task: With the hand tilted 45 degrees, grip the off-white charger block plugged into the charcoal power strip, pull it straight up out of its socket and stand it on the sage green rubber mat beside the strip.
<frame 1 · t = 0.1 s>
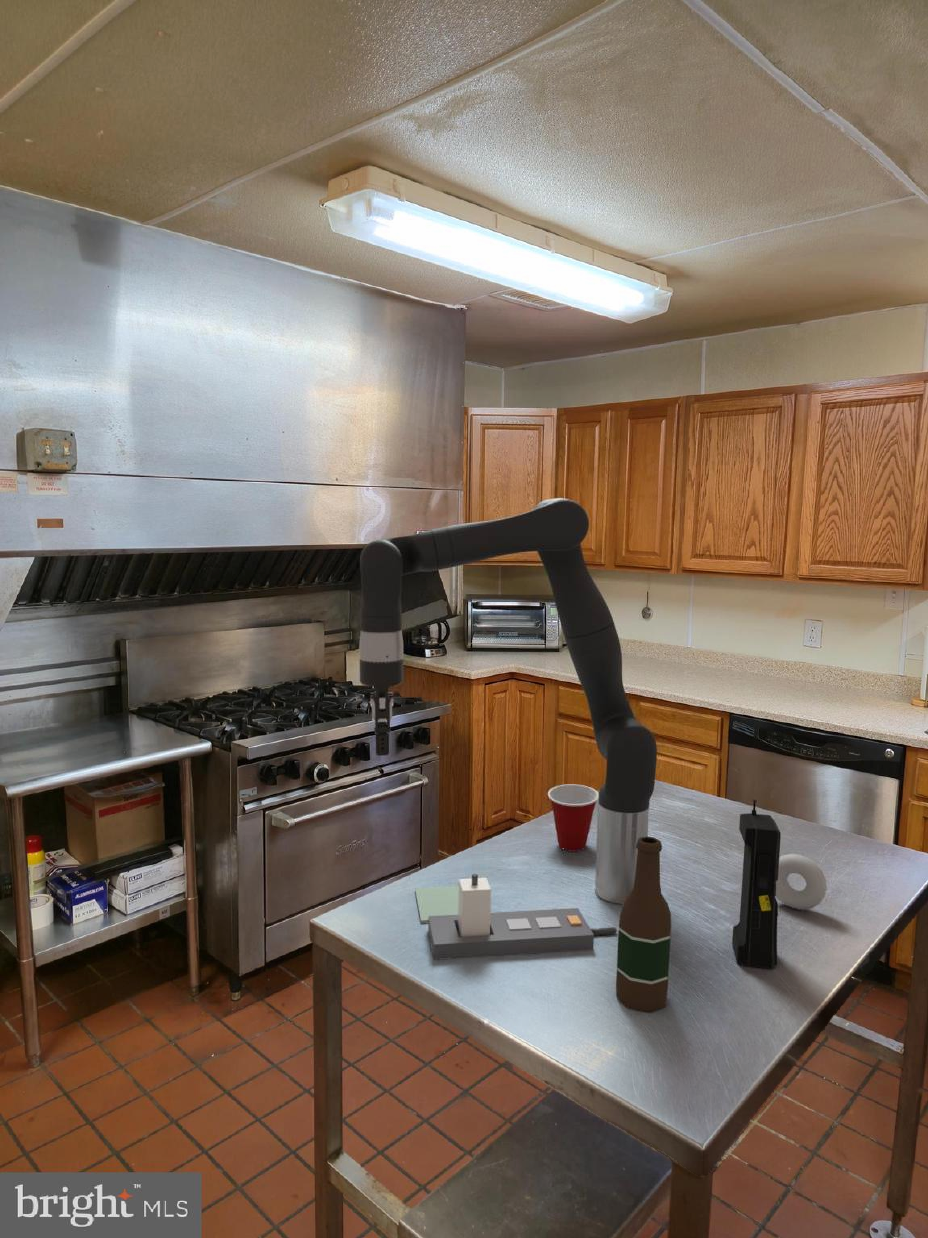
hand: (382, 748, 137), 29 cm above the table, tool pointing down, fingers open, 8 cm apart
power strip: (509, 939, 130), on the table
portable radio: (754, 959, 126), on the table
beer bottle: (641, 999, 115), on the table
donut: (794, 909, 143), on the table
mat: (451, 904, 142), on the table
charger: (473, 942, 129), resting in power strip
plastic cup: (571, 847, 169), on the table
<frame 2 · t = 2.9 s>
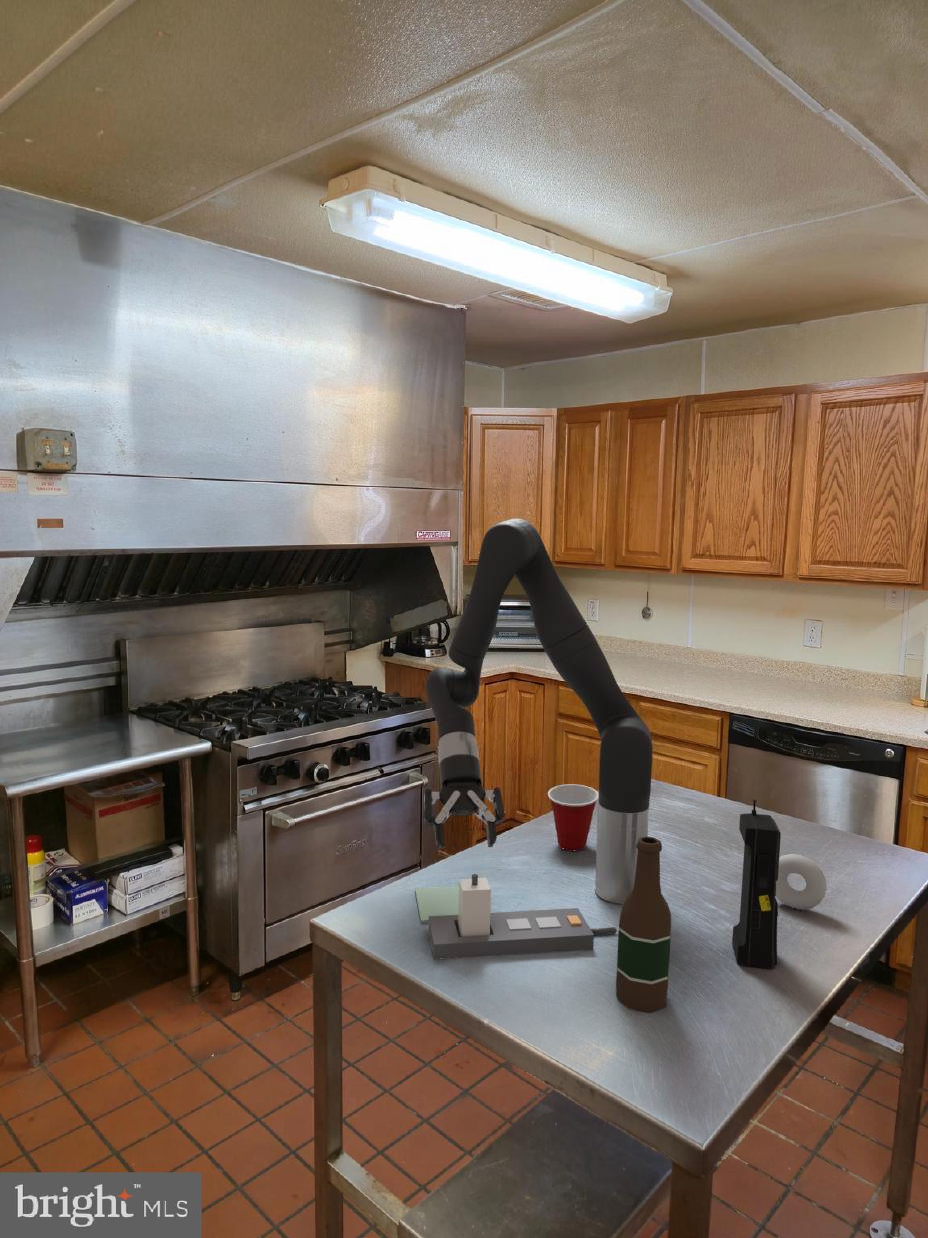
hand: (466, 846, 136), 13 cm above the table, tool tilted 45°, fingers open, 8 cm apart
nothing on the table moved.
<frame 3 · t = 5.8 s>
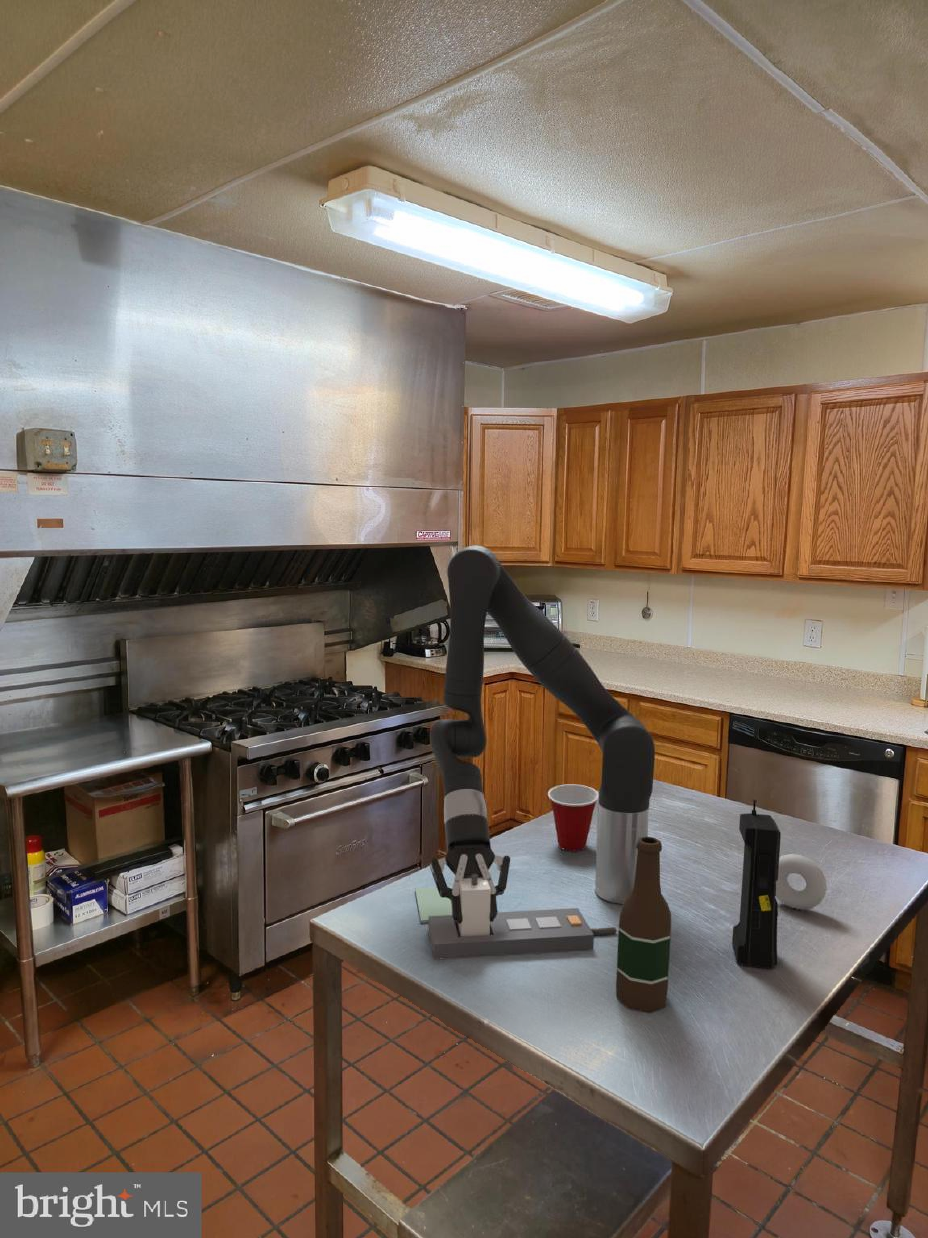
hand: (475, 920, 127), 5 cm above the table, tool tilted 45°, fingers closed on charger, 4 cm apart
charger: (473, 942, 129), resting in power strip, touching gripper
everything else where it was.
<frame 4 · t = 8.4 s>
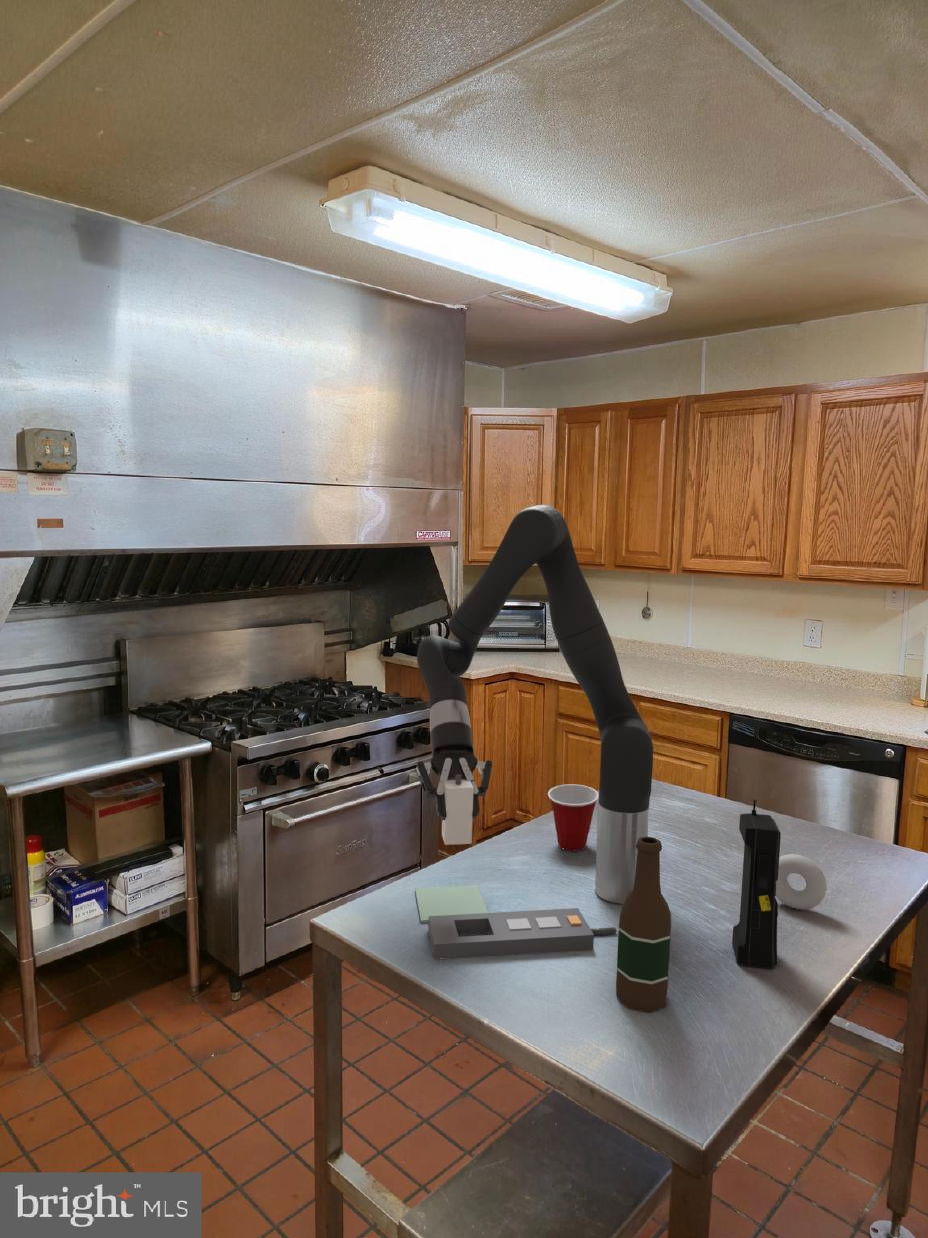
hand: (459, 817, 134), 18 cm above the table, tool tilted 45°, fingers closed on charger, 4 cm apart
charger: (456, 839, 137), point 14 cm above the table, touching gripper
everything else where it was.
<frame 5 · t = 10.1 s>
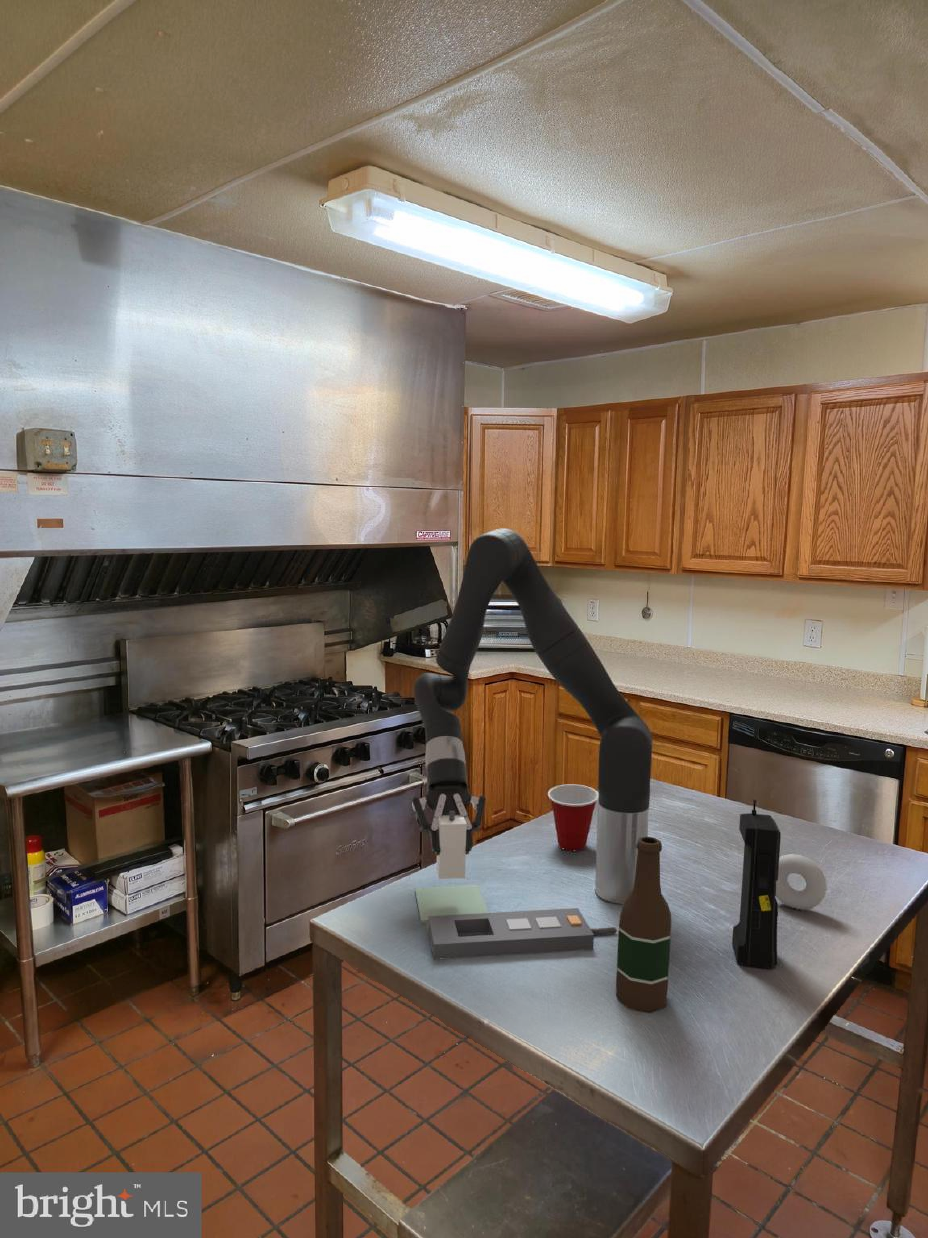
hand: (452, 853, 139), 11 cm above the table, tool tilted 45°, fingers closed on charger, 4 cm apart
charger: (450, 873, 141), point 6 cm above the table, touching gripper
everything else where it was.
when the fingers open (7 cm above the table, at t = 11.3 s): charger drops 1 cm, resting on mat.
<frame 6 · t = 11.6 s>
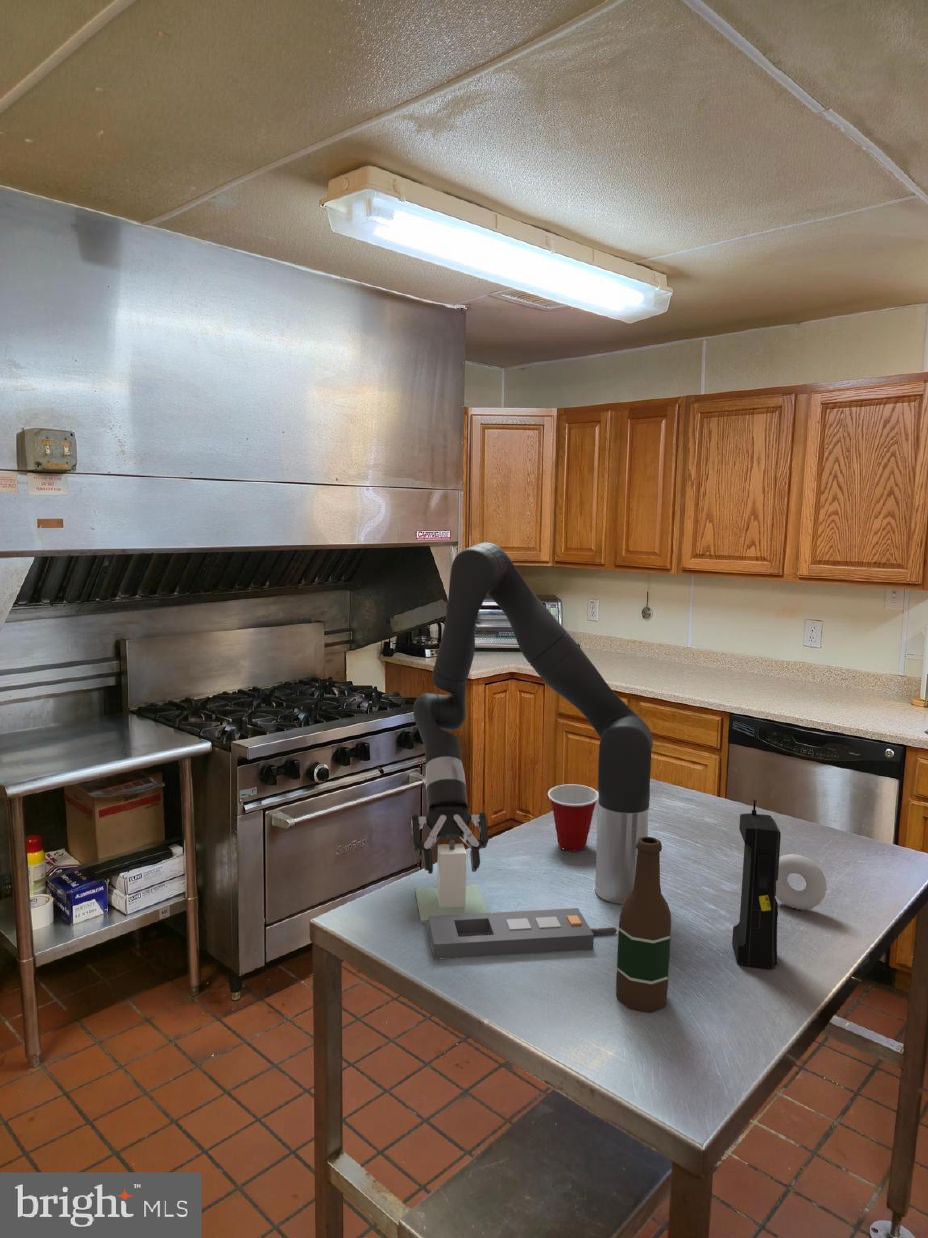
hand: (452, 871, 140), 7 cm above the table, tool tilted 45°, fingers open, 7 cm apart
charger: (450, 902, 142), resting on mat
everything else where it was.
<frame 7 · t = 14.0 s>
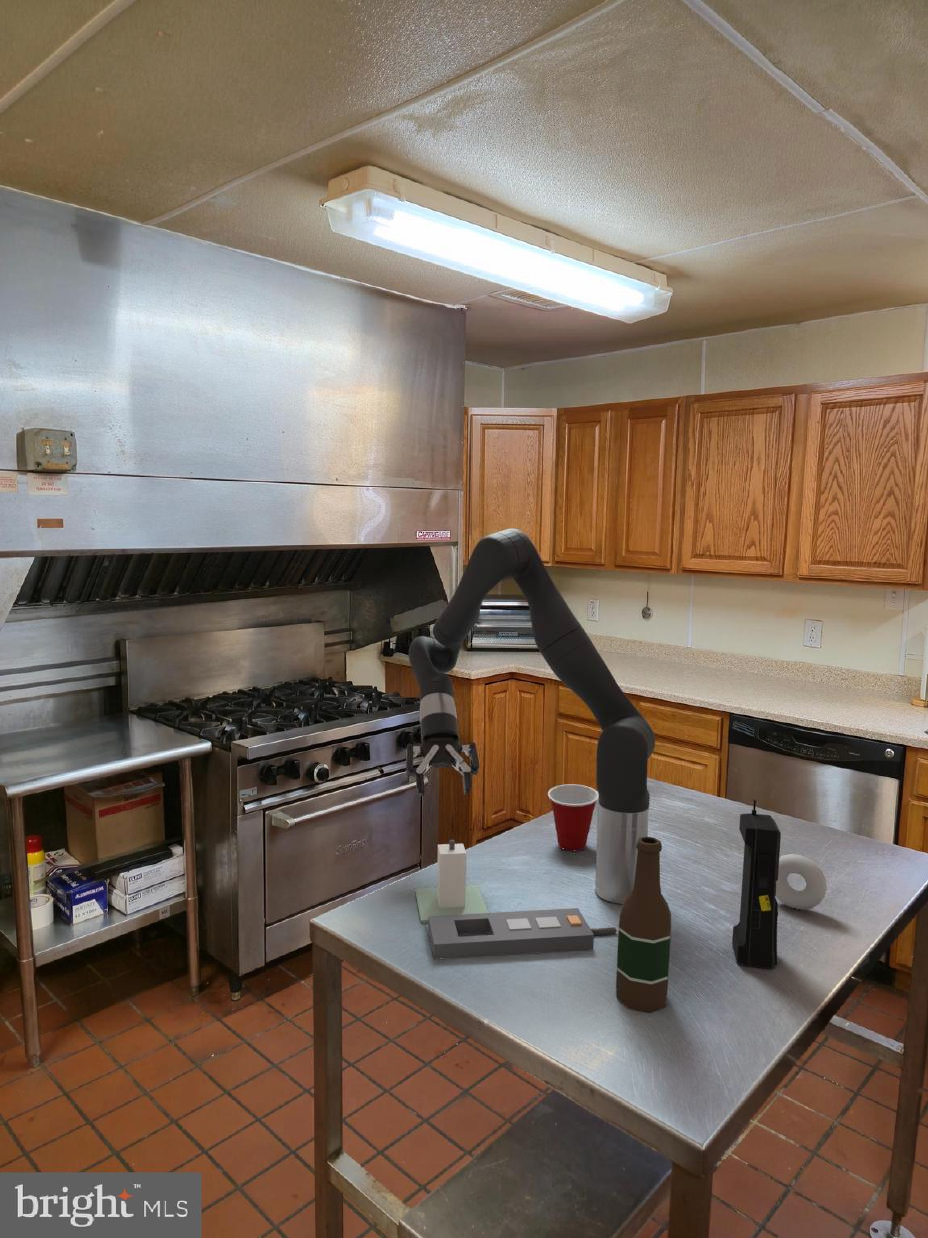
hand: (444, 794, 151), 17 cm above the table, tool tilted 45°, fingers open, 8 cm apart
nothing on the table moved.
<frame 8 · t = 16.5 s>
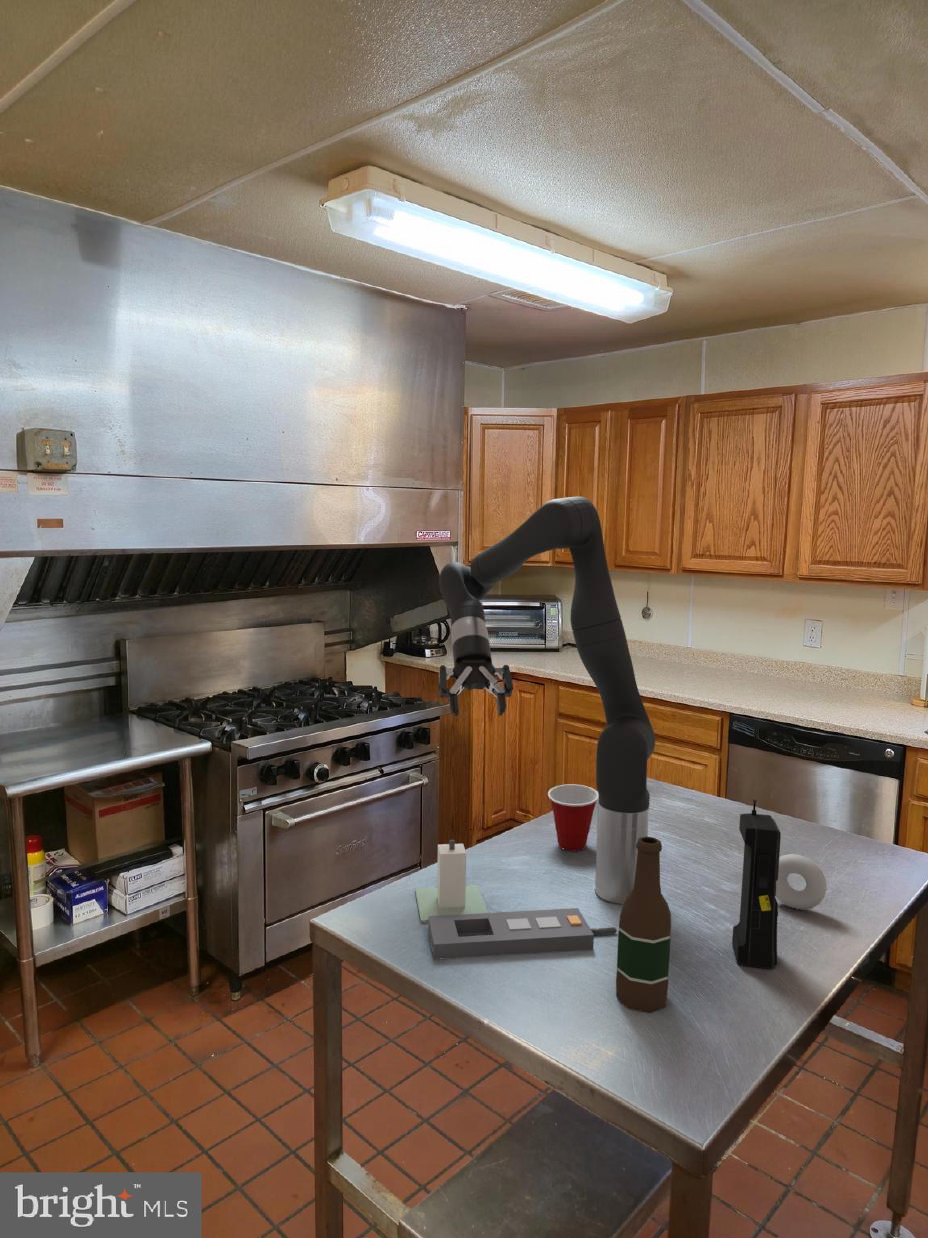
hand: (478, 714, 148), 33 cm above the table, tool tilted 45°, fingers open, 8 cm apart
nothing on the table moved.
at the end: charger inside the target area on the mat (0.0 cm from its centre), point 0.5 cm above the mat's base; charger tilted 0°; the gripper is holding nothing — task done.
